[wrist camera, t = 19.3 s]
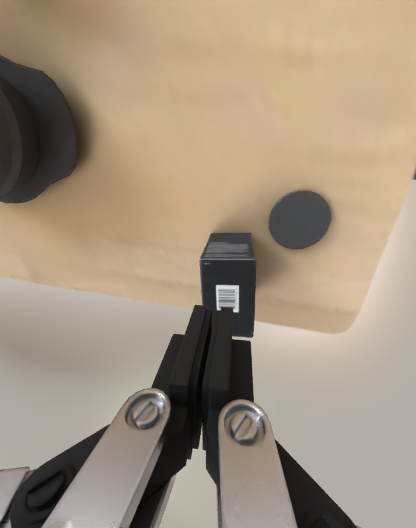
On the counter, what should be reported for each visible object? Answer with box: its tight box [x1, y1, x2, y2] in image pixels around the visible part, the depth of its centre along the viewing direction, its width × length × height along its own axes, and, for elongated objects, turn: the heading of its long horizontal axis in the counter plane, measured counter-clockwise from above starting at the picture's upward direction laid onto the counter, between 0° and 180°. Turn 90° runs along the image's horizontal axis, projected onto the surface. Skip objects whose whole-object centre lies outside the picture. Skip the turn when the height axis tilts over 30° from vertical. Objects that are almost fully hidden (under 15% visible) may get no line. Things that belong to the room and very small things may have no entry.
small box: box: [200, 233, 256, 338], centre depth 31 cm, size 11×6×10 cm, turn 2°
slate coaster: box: [269, 190, 331, 249], centre depth 32 cm, size 8×8×1 cm
